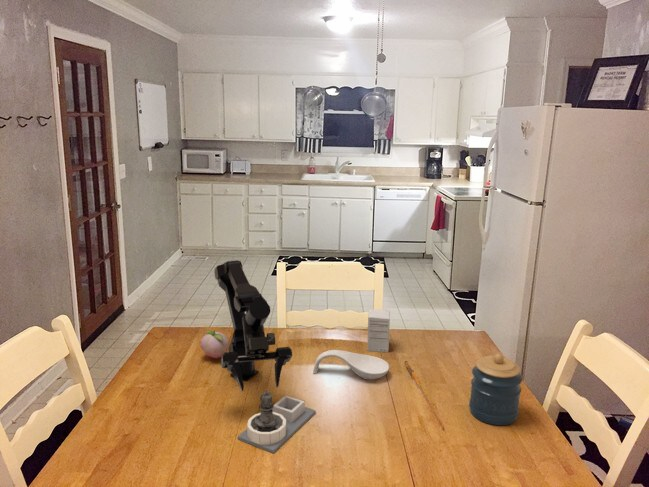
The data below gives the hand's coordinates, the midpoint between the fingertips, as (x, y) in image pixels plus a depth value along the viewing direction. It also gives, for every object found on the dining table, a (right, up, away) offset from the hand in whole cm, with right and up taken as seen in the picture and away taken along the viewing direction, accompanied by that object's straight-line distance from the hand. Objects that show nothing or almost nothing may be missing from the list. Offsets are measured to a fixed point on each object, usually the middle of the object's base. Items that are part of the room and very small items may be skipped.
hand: (260, 388), depth 139 cm
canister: (+63, -8, +6) cm, 64 cm away
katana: (+46, -6, +14) cm, 48 cm away
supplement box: (+36, +2, +44) cm, 57 cm away
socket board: (+5, -9, -1) cm, 11 cm away
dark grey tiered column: (+2, -10, -5) cm, 11 cm away
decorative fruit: (-19, 0, +35) cm, 40 cm away
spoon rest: (+25, -3, +26) cm, 37 cm away
